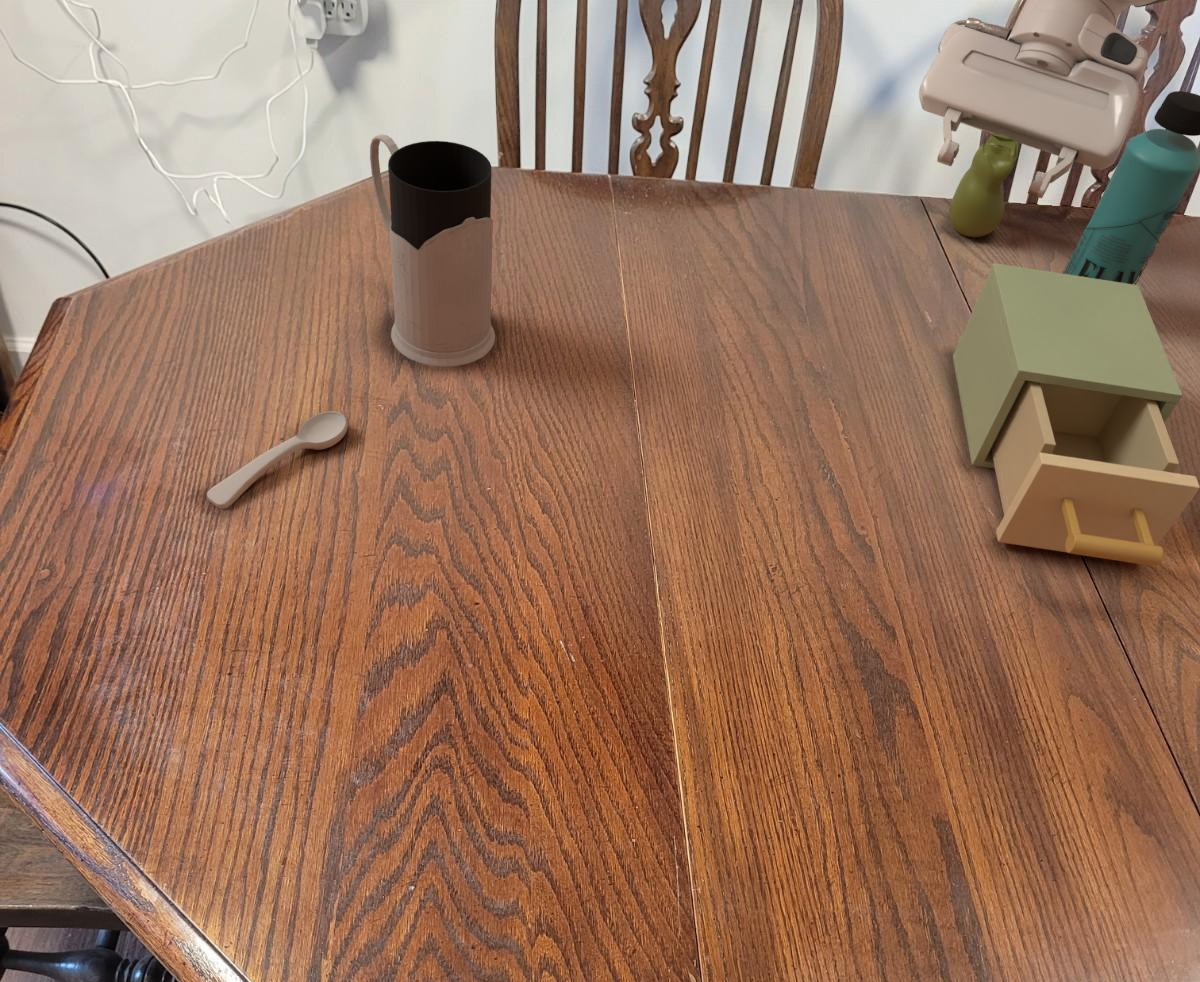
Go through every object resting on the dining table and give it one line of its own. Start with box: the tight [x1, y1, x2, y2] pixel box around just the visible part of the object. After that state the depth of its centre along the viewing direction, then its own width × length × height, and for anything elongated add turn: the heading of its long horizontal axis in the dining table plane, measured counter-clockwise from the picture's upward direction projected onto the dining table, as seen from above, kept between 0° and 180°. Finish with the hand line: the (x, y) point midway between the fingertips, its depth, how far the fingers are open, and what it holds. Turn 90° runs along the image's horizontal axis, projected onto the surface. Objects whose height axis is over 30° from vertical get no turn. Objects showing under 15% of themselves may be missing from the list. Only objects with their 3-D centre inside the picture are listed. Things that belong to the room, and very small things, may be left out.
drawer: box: [991, 380, 1200, 567], centre depth 77 cm, size 18×11×8 cm, turn 173°
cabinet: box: [952, 262, 1183, 470], centre depth 85 cm, size 15×12×10 cm
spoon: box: [206, 410, 349, 510], centre depth 75 cm, size 3×12×2 cm, turn 141°
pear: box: [948, 133, 1019, 238], centre depth 104 cm, size 6×5×10 cm
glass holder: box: [369, 134, 496, 368], centre depth 83 cm, size 9×14×15 cm, turn 39°
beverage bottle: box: [1061, 90, 1200, 285], centre depth 93 cm, size 6×7×20 cm
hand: (988, 177), depth 103 cm, fingers open, 8 cm apart
